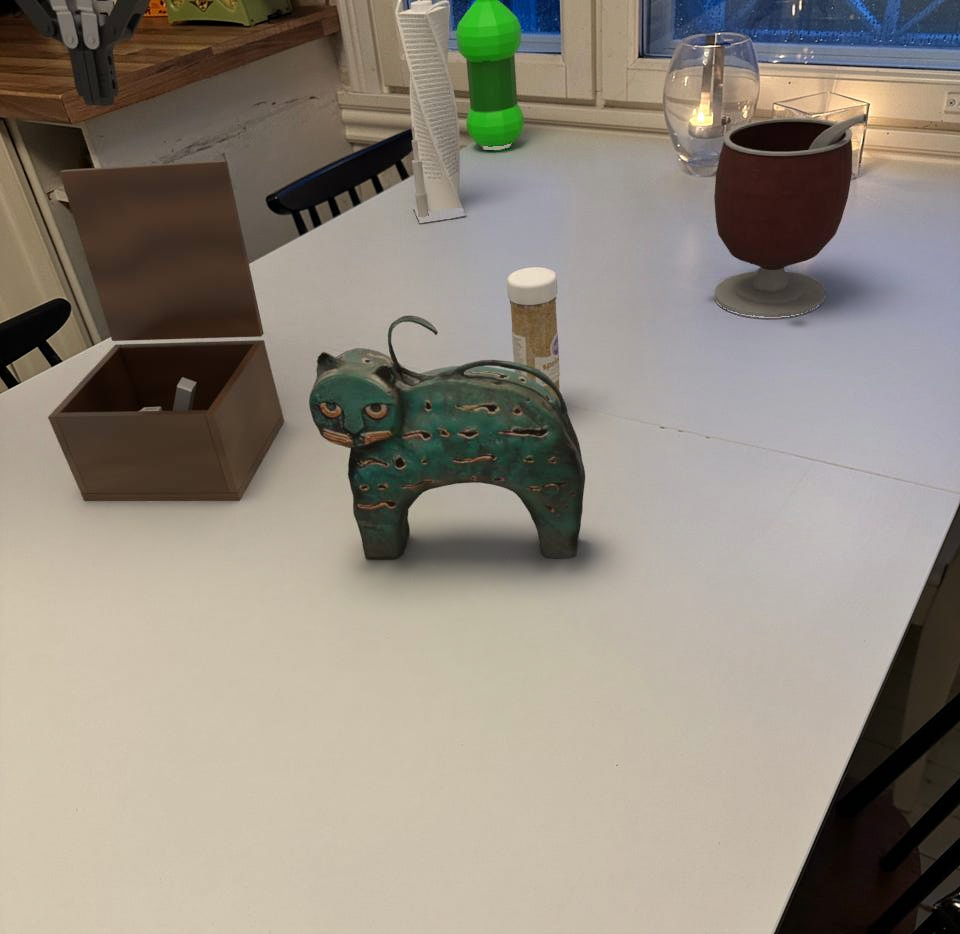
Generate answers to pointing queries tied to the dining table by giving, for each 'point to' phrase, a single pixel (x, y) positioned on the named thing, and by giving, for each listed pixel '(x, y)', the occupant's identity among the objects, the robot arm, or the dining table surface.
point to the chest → (170, 422)
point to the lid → (165, 250)
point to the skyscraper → (431, 106)
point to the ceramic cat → (448, 440)
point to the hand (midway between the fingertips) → (99, 104)
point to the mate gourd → (780, 208)
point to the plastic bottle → (491, 72)
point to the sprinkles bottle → (535, 322)
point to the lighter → (180, 396)
